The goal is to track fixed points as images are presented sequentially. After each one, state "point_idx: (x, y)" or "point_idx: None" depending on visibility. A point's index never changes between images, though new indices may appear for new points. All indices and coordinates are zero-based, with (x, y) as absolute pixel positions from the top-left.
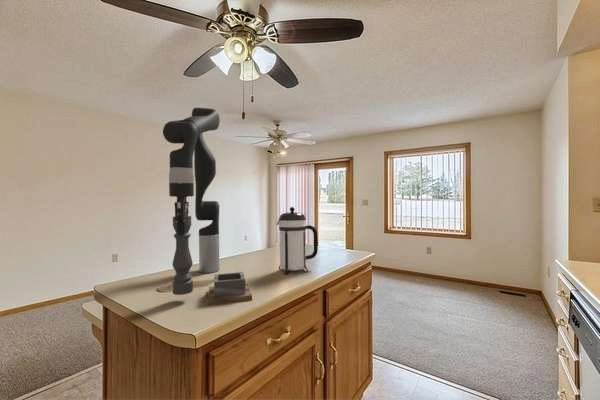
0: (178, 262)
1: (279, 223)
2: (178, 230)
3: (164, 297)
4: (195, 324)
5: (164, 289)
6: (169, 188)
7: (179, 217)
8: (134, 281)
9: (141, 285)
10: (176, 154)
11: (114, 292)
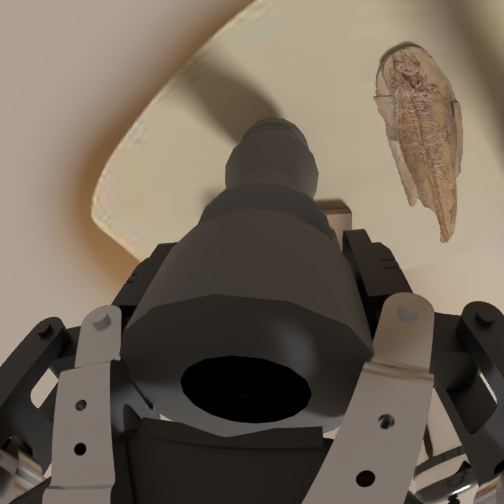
0: (226, 171)
1: (457, 464)
2: (135, 272)
3: (324, 78)
4: (122, 210)
5: (394, 68)
6: None
7: (51, 369)
8: None
9: (458, 3)
10: None
11: None
